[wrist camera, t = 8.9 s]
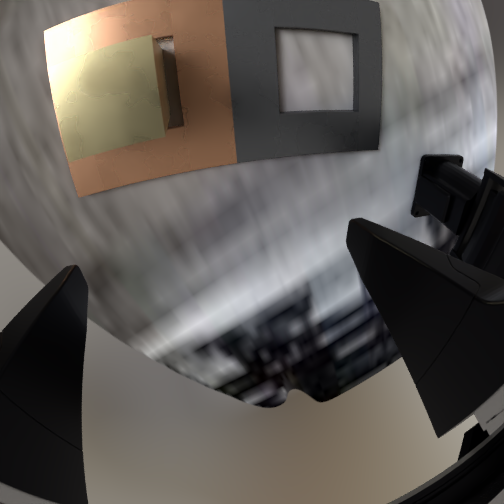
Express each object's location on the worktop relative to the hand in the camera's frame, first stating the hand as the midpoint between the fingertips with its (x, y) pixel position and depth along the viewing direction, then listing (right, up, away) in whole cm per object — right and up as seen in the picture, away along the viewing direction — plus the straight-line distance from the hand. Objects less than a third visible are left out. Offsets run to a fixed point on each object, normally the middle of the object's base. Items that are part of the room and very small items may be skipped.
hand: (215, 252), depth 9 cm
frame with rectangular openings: (0, +11, +7) cm, 13 cm away
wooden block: (-6, +10, +6) cm, 13 cm away
